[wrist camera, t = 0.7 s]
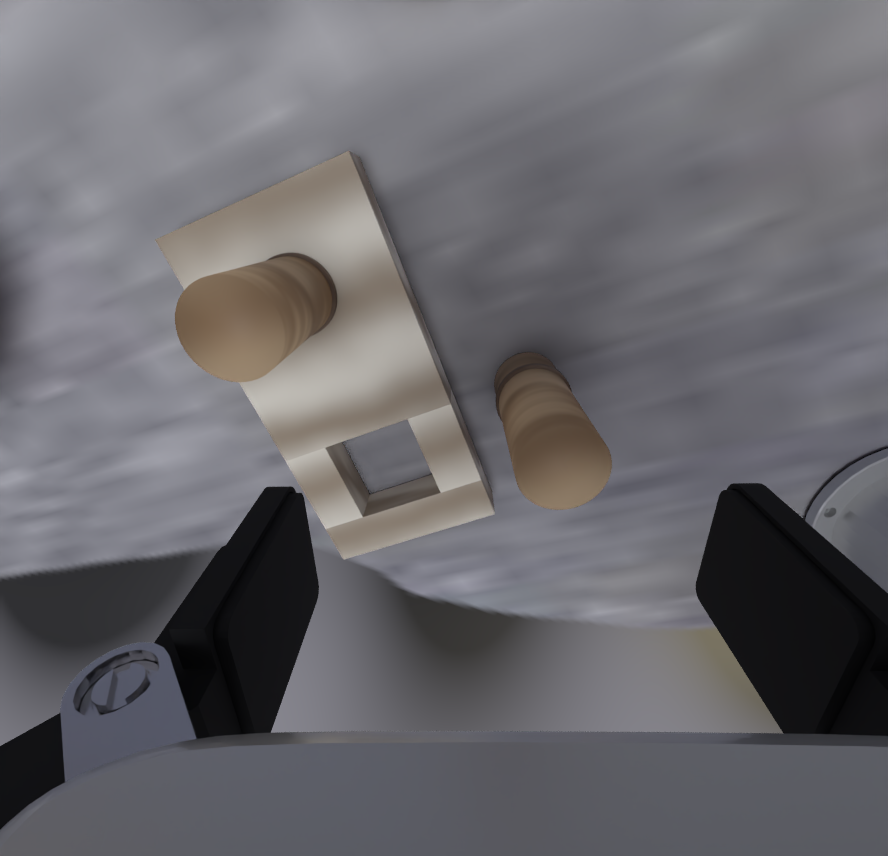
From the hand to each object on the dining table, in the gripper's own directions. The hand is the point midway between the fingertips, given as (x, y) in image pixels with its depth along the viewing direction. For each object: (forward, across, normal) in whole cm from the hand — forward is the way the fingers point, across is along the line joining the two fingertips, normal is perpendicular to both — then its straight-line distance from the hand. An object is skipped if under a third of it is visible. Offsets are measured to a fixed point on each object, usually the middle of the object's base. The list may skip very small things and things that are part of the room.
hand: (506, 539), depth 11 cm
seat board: (+22, +8, +4) cm, 24 cm away
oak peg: (+22, -4, +4) cm, 23 cm away
